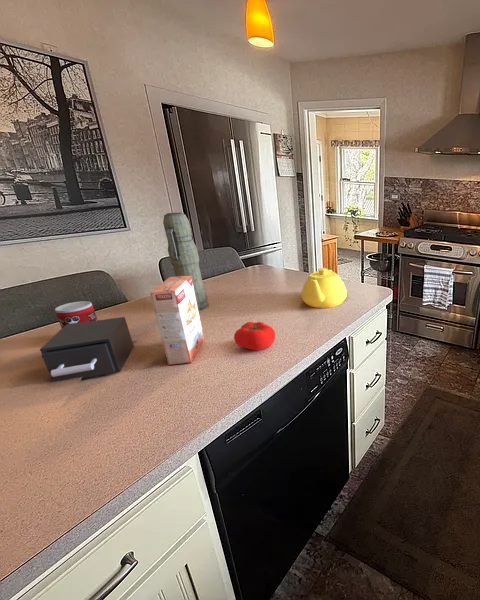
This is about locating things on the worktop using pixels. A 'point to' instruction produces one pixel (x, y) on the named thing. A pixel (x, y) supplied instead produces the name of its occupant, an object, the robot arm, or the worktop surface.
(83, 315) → the canned food
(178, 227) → the thermos
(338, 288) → the teapot
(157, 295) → the cracker box
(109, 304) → the worktop surface
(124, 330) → the small drawer unit
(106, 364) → the drawer
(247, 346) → the tomato
